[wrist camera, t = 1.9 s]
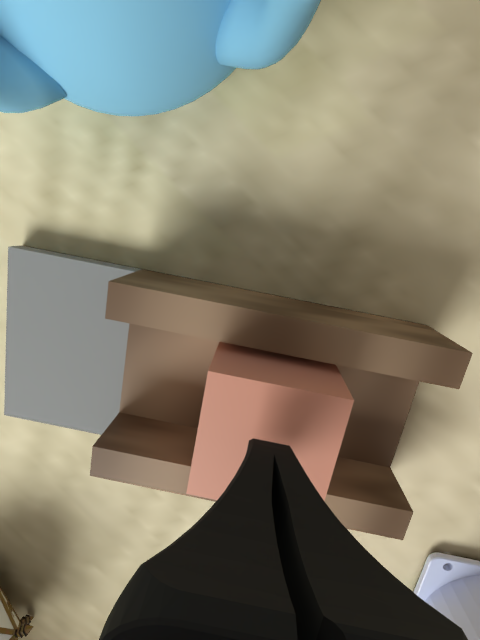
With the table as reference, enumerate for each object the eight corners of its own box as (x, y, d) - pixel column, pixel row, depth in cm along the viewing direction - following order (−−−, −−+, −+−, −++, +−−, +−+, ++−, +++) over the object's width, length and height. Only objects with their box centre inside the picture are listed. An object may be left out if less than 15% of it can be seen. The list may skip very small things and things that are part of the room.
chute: (427, 325, 18) (472, 353, 14) (375, 479, 20) (402, 540, 16) (142, 269, 18) (108, 281, 14) (123, 427, 20) (90, 475, 16)
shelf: (142, 269, 18) (135, 271, 17) (123, 427, 20) (116, 437, 19) (22, 245, 18) (8, 246, 17) (16, 405, 20) (4, 415, 19)
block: (328, 351, 17) (354, 400, 12) (304, 443, 18) (318, 521, 14) (223, 330, 17) (207, 371, 12) (206, 423, 19) (186, 494, 14)
